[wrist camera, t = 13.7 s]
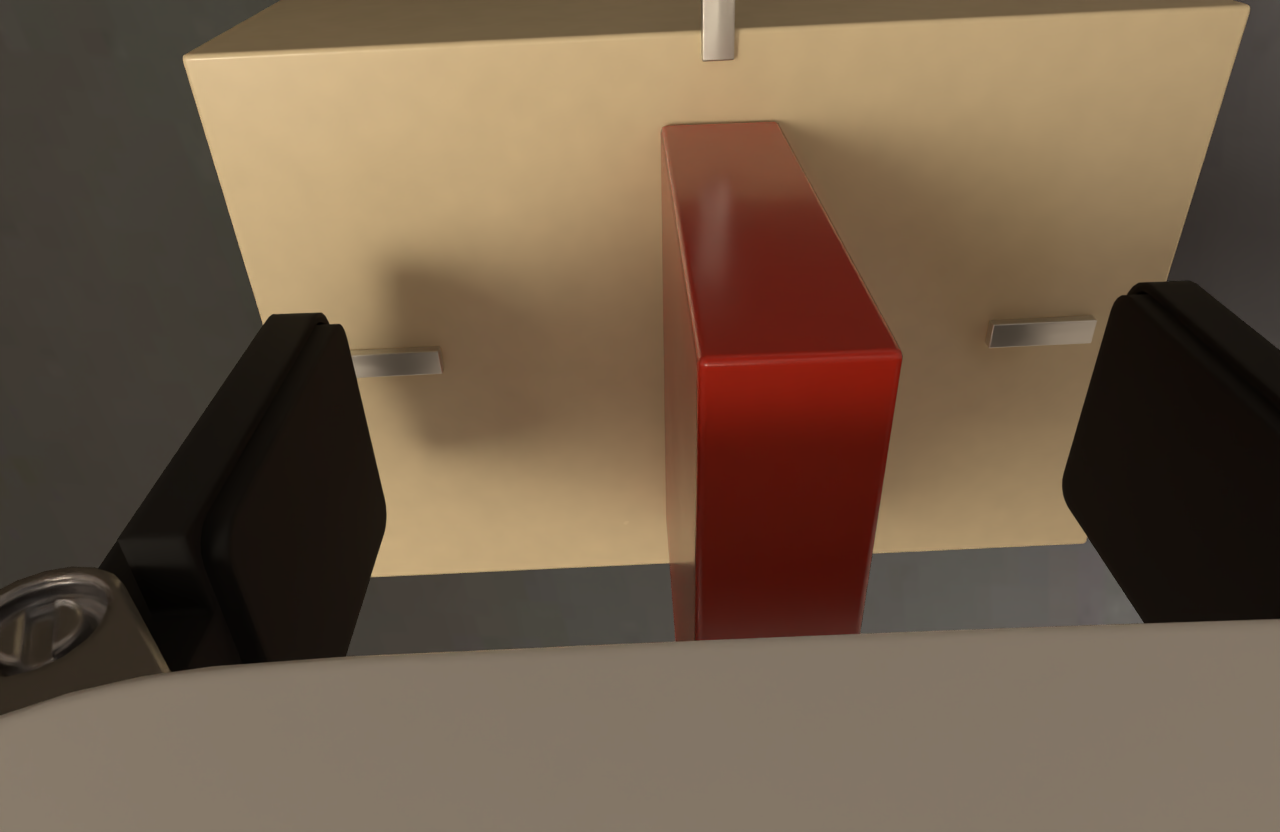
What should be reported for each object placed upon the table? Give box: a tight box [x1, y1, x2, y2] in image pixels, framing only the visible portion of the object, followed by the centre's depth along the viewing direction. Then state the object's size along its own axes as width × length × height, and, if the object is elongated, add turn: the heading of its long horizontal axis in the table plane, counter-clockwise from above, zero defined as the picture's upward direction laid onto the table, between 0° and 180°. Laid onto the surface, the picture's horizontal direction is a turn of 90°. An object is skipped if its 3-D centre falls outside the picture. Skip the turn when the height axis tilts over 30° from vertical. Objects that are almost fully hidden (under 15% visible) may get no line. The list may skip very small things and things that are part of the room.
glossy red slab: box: [661, 122, 903, 642], centre depth 10 cm, size 6×1×6 cm, turn 2°
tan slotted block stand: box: [183, 0, 1250, 577], centre depth 14 cm, size 12×10×4 cm
